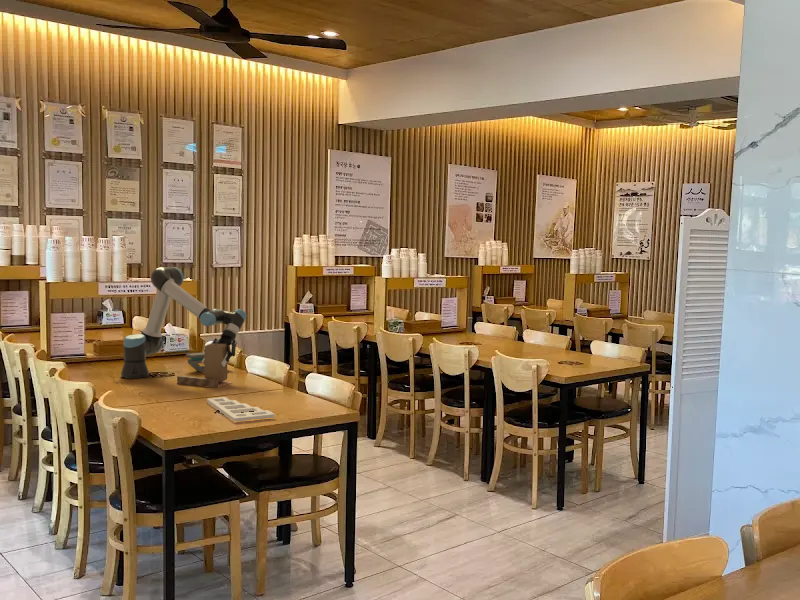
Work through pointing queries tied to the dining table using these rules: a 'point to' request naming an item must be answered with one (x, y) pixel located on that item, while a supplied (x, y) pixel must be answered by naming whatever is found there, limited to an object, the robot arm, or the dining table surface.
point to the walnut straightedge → (197, 381)
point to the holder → (238, 409)
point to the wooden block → (215, 361)
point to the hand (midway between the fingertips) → (212, 364)
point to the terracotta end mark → (224, 383)
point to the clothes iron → (197, 361)
